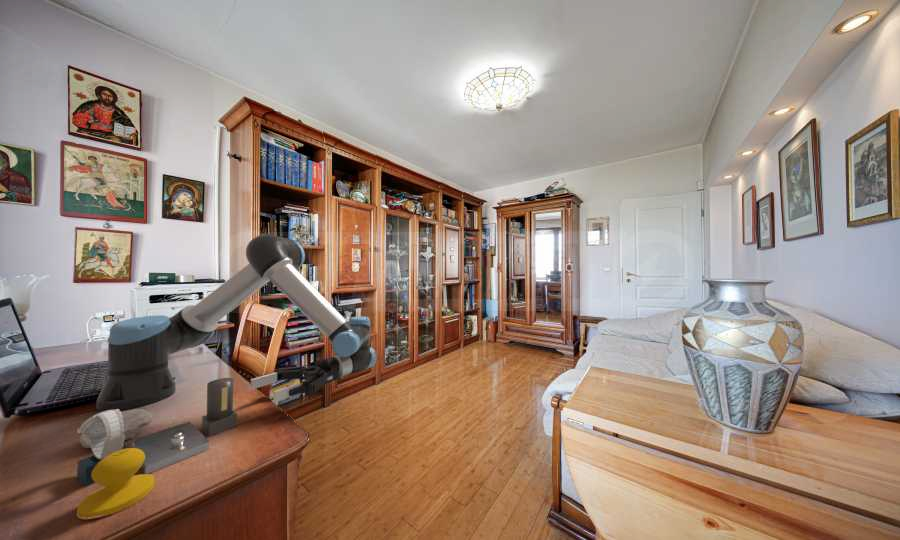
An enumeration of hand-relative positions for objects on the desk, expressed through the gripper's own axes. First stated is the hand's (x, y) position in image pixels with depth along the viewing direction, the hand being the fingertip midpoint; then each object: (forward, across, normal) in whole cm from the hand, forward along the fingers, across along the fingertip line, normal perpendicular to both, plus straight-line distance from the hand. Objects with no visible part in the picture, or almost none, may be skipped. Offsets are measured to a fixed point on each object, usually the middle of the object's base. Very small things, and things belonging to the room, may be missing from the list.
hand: (261, 390), depth 72 cm
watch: (+26, -1, -6) cm, 27 cm away
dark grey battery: (+9, 0, -6) cm, 11 cm away
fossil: (+23, +14, -6) cm, 27 cm away
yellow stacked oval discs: (+25, -12, -6) cm, 29 cm away
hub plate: (+17, -1, -6) cm, 18 cm away
